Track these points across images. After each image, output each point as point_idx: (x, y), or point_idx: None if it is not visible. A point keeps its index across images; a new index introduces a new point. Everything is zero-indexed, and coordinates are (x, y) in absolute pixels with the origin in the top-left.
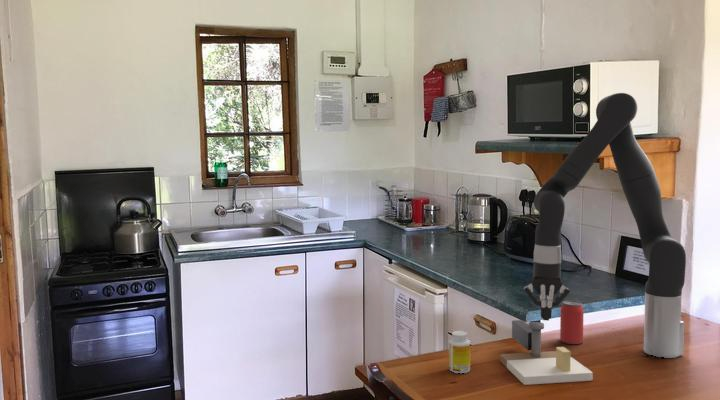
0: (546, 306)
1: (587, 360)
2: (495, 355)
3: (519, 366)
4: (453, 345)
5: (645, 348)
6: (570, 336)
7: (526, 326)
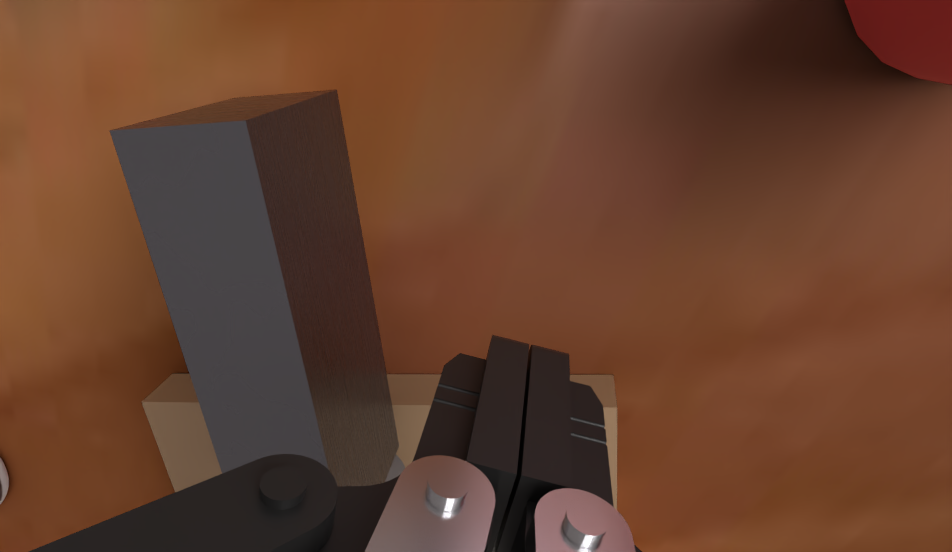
0: (527, 494)
1: (772, 445)
2: (144, 264)
3: None
4: None
5: None
6: (928, 74)
7: (264, 394)
